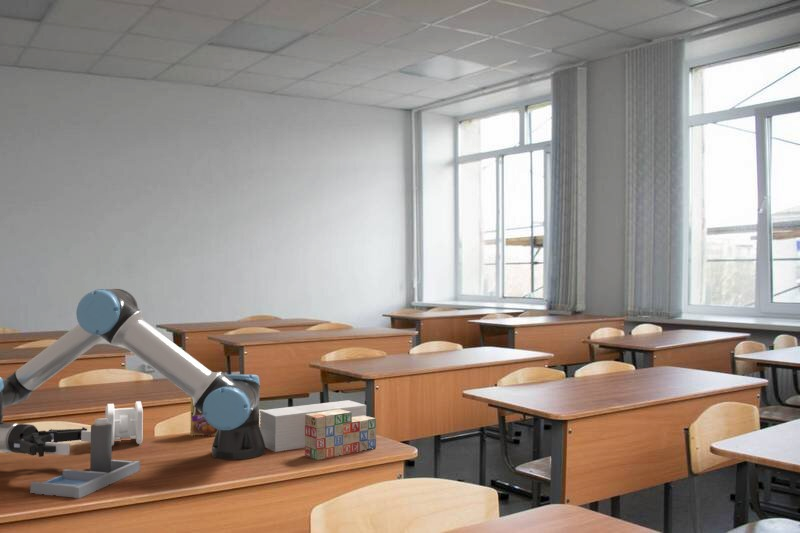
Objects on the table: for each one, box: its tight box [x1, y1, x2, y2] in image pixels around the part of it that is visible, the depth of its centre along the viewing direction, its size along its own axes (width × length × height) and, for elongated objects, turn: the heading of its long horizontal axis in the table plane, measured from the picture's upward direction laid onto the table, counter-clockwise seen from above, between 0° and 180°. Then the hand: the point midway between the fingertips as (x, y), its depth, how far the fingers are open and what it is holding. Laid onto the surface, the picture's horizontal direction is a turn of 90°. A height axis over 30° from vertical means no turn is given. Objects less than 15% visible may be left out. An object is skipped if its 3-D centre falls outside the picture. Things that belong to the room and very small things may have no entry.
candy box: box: [189, 397, 218, 437], centre depth 230 cm, size 9×4×15 cm, turn 96°
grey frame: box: [29, 459, 141, 499], centre depth 178 cm, size 14×24×2 cm, turn 167°
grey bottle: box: [89, 417, 113, 473], centre depth 183 cm, size 5×5×14 cm
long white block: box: [259, 399, 367, 453], centre depth 223 cm, size 32×11×11 cm, turn 126°
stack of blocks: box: [304, 409, 377, 461], centre depth 209 cm, size 21×6×12 cm, turn 129°
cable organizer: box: [104, 400, 144, 447], centre depth 219 cm, size 15×11×12 cm
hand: (86, 443), depth 184 cm, fingers open, 13 cm apart
